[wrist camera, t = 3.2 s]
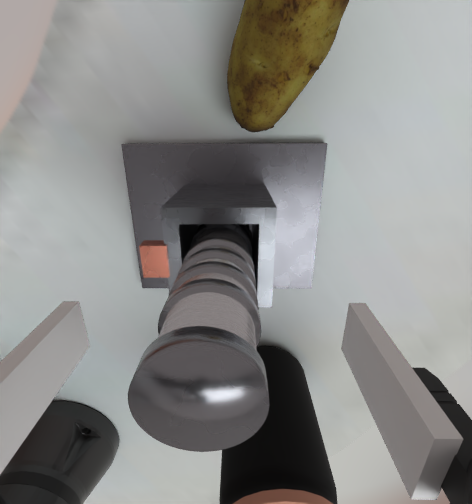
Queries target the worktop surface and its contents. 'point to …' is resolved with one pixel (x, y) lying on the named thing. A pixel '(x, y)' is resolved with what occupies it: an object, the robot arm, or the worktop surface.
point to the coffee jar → (280, 445)
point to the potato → (277, 55)
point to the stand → (227, 206)
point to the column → (206, 350)
